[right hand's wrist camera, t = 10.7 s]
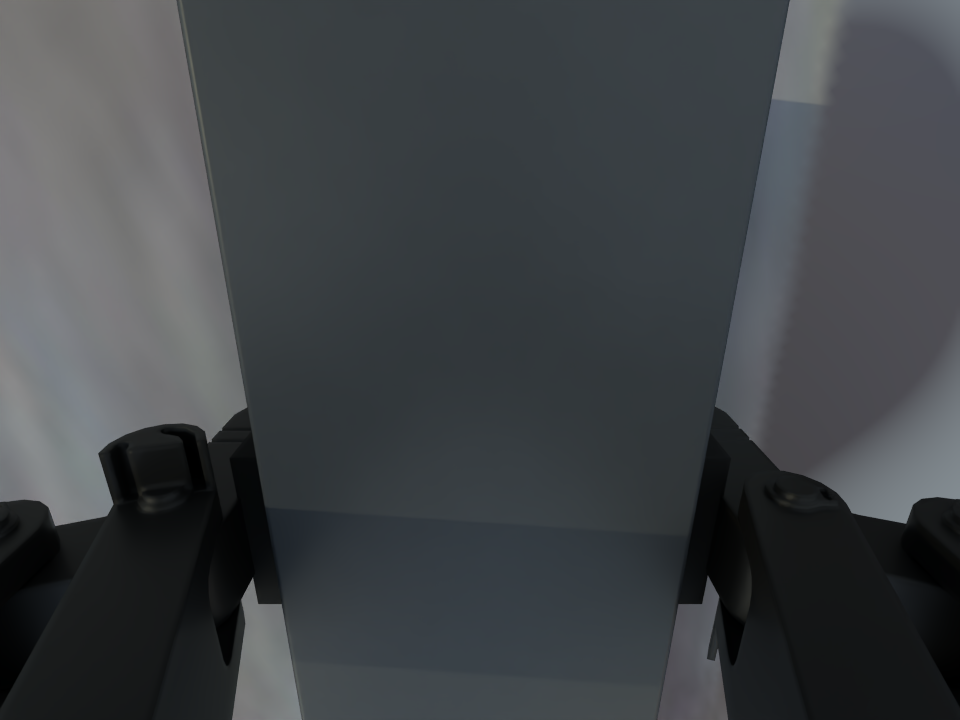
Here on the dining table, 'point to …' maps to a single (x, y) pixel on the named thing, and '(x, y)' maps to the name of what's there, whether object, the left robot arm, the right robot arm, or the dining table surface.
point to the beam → (481, 327)
